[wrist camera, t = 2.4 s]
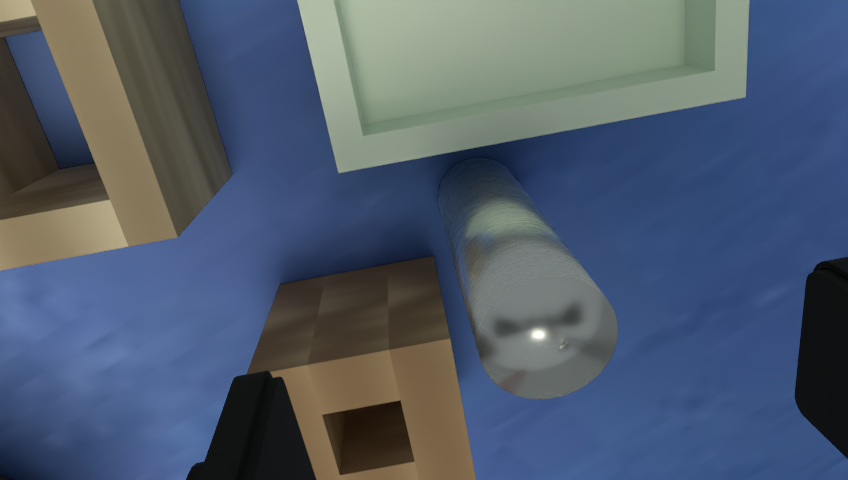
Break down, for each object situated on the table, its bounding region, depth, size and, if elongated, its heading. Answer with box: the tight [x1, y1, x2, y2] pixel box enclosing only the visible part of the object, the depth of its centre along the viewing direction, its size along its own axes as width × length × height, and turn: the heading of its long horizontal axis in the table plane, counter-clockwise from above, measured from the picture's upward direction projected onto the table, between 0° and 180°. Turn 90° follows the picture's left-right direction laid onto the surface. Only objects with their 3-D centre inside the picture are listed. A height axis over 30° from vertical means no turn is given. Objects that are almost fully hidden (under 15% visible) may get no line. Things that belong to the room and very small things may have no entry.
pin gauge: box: [438, 158, 618, 399], centre depth 17 cm, size 3×3×10 cm
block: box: [247, 256, 476, 480], centre depth 21 cm, size 6×6×6 cm
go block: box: [0, 0, 232, 270], centre depth 17 cm, size 7×7×6 cm
